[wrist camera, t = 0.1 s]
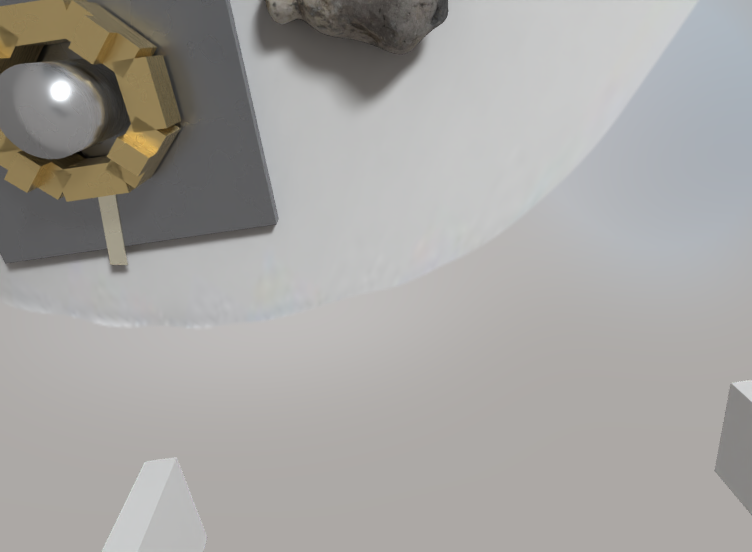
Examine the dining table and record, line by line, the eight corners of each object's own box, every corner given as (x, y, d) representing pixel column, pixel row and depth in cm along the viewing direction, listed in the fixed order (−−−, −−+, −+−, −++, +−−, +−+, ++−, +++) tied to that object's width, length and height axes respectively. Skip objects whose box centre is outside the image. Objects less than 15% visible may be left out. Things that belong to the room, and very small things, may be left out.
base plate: (-128, -53, 31) (-256, -77, 24) (205, -105, 31) (166, -143, 24) (22, 274, 40) (-42, 320, 33) (282, 236, 40) (269, 276, 33)
